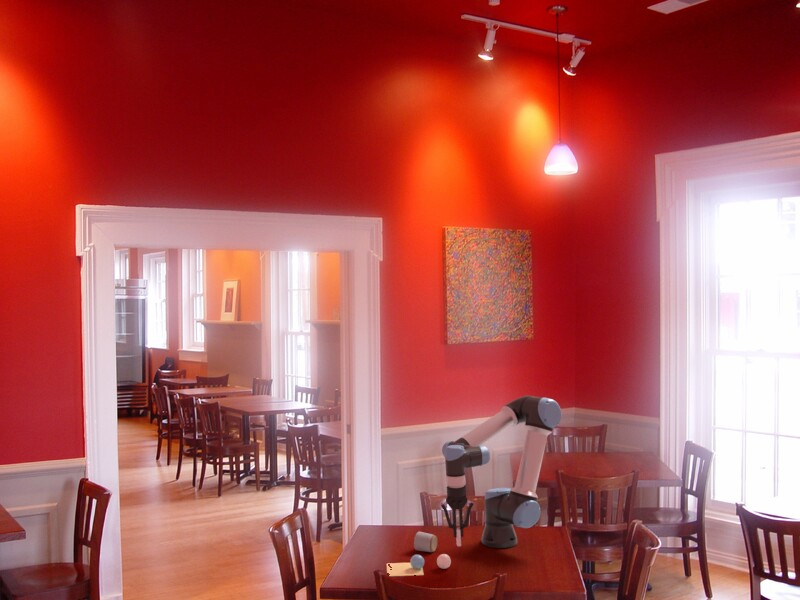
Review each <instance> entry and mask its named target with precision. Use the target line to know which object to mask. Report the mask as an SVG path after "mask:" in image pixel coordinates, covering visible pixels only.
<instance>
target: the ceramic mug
mask: <svg viewBox="0 0 800 600" xmlns="http://www.w3.org/2000/svg"><path fill="white" fill-rule="evenodd" d="M437 547H438V537H437V536H436V535H435V534H432V533H427V532H423V531H418V532H416V534H415V535H414V538H413V548H414V549H415V551H418V552H427V553H434V552H435V551H436V549H437Z"/></svg>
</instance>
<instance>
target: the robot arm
mask: <svg viewBox="0 0 800 600" xmlns="http://www.w3.org/2000/svg"><path fill="white" fill-rule="evenodd" d="M562 417H563V415H562V408H561V407H560V405H559V403H558V402H557V401H556V400H554V399H552V398H548V397H541V396H533V395H524V396H520V397H518V398H515V399H514V400H512V401H510V402H508V403H507V404H506V405H504V406H502V407H501V409H500V411H499V412H497V413H496V414H494V415H493V416H491V417H490V418H488V419H487V420H485V421H484V422H482V423H481V424H479V425H478V426H476V427H475V428H473V429H471V430H470V431H469V432H467V433H466V434H464V435H463V436H461V437H460V438H458V439H456V440H455V441H453V440H448V441H446V442H445V443H443V446H442V448H441V453H442V456H443V457H444V461H445V462H444V463H445V479H446V483H445V484H446V499H445V501H444V502H441V503H440V507H441V508H442V510H443V511H444V515H445V518H446V522H447V526H448V528H449V529H451V530H452V531H453V532H452V533H453V537H454V538H456V539H455V540H456V546H457V547H462V538H463V537H464V529H465V528H467V527H468V526H469V521H470V515H471V510H472V508H473V506H474V503H473V501H470V500H469V499H468V497H467V488H466V470H467V469H470V468H476V467H479V466H481V467H482V466H484V465H487V464H488V463H489V462H490V460H491V455H490V451H489V449H488V447H487V446H485V445H484V444H486V443H487V442H489V441H491V439H494V438H495V437H496V436H498V435H499V434H501V433H502V432H504V431H505V430H506V429H508V428H510V427H516V426H518V425H519V424H522V423H524V426H525V428H526V436H525V441H524V445H523V449H522V454H521V458H520V463H519V467H518V472H517V476H516V480H515V484H514V485H515V486H514V487H512V488H511V487H497V488H496V487H495V488H491V489H488V490H486V491H485V492H484V500H483V501H484V519H485V520H484V523H485V525H484V528H483V531H482V533H481V534H482V535H481V544H482V545H484V546H485V547H489V548H492V549H493V548H495V549H505V548H511V547H514V546H516V545H518V538H517V537H518V536H517V533H516V531H515V528H514V526H516V527H517V528H523V529H529V528H531V527H533V526H534V525H536V523H537V522H538V521H539V520H540V517H541V507H540V504H539V503H538V498H539V496H538V495H537V493H536V491H537V487H538V486H537V485H538V481H539V477H540V472H541V468H542V463H543V460H544V454H545V449H546V445H547V439H548V436H549V435H551V434H553V429H554V428H556V427H557V426H558V425H559V424H560V422H561V421H562ZM465 505H466V511H465V516H464V517H463V511H464V510H463V509H464V507H465ZM448 506H449V508H450V509H451V512H452V513H451V514H452V522H451V519H450V516H449V512H448V509H447V508H448ZM457 510H458V523H459V525H458V526H459V527H457Z"/></svg>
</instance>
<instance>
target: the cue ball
mask: <svg viewBox="0 0 800 600" xmlns="http://www.w3.org/2000/svg"><path fill="white" fill-rule="evenodd" d="M436 564H437V566H438V568H440V569H444V570H445V569H448V568H449V567H450V566H451V564H452V560H451V557H450V556H449V555H448V554H446V553H442V554H440V555H438V556H437V559H436Z"/></svg>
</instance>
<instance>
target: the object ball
mask: <svg viewBox="0 0 800 600" xmlns="http://www.w3.org/2000/svg"><path fill="white" fill-rule="evenodd" d="M409 561H410V562H409V563H410V564H411V566H412V567H413V568H414V569H421V568H423V567H424V565H425V559H424V557H423V556H422V555H420V554H414V555H412V556H411V558H410V560H409Z"/></svg>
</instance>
